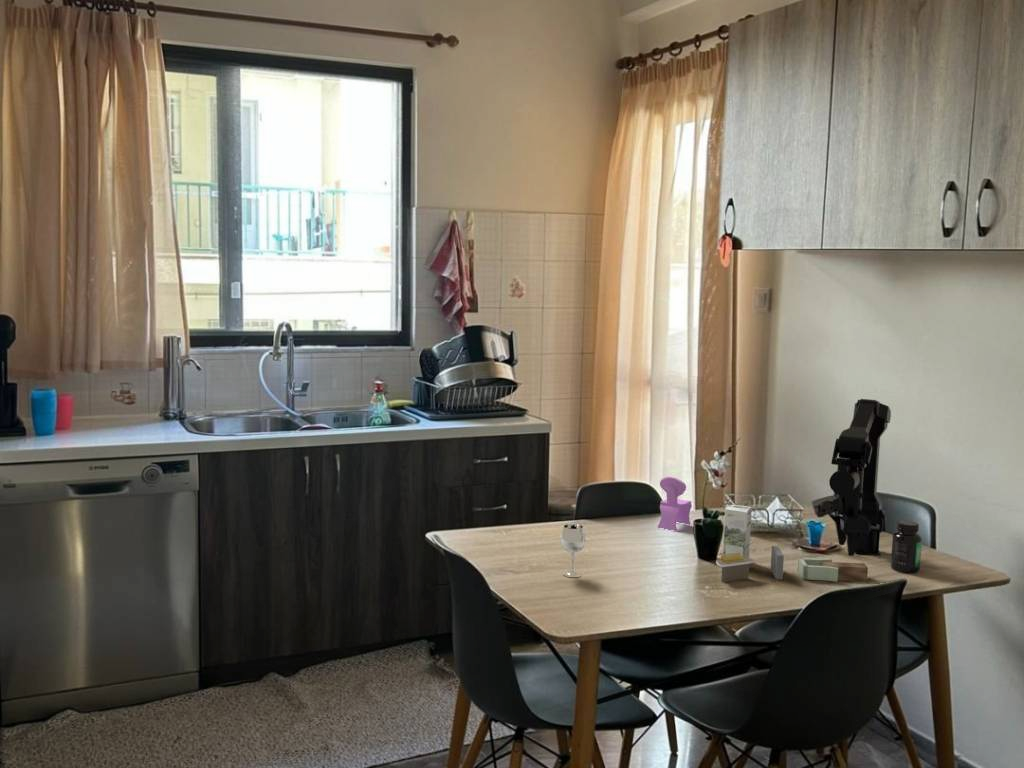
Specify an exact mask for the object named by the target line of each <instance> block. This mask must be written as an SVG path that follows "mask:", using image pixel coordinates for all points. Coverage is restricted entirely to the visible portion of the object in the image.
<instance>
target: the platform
mask: <svg viewBox="0 0 1024 768" xmlns="http://www.w3.org/2000/svg"><path fill="white" fill-rule="evenodd" d="M731 554H732V555H731ZM739 554H740V552H738V553H737V555H736V553H730V557H729V554H723V553H722V554H721V557H720V559H716V560H715V561H716V562H715V563H716V565H717V566H718V567H720V568H721V581H720V582H721V583H726V582H732V581H739V580H740V581H741V580H747V579H749V577H750V575H749V574H750V572H749V571H750V564H755V559H752V558H750V557H749V558H744V556H745V554H742V555H739ZM724 555H725V556H724ZM742 556H743V557H742ZM727 557H728V558H727Z"/></svg>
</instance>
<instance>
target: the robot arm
mask: <svg viewBox="0 0 1024 768" xmlns="http://www.w3.org/2000/svg"><path fill="white" fill-rule="evenodd" d="M891 411H892V410H891V408H890V406H889V405H886V404H883V403H881V402H880V401H877V399H867V398H860V399H857V402H855V403H854V409H853V418H852V421H851V422H850V426H849V427H848V428H847V429H844V430H842V431H841V432H840V434H839V436H838V438H836V439H835V443H834V448H833V453H832V457H831V461H830V462H831V465H837V469H836V471H835V472H834V473H832V475H831V476H830V478H829V487H830V490H832V491H833V495H832V494H831V495H827V496H824V497H821V498H817V499H814V500H812V501H811V505H812V509H813V512H814V515H816V516H817V518H823V517H826V516H827V515H828V517H829V518H831V519H832V520H833V522H834V525H835V530H836V536H837V540H838V545H839V546H844V545H845V543H846V547H847V548H846V549H847V555H848V556H849V557H853V556H855V554H856V555H857V554H858V555H881V551H880V550H879V549H880V535H881V533H885V532H887V517H886V516H887V515H886V514H885V511H884V509H883V501H882V499H881V498H880V496H879V494H878V492H877V487H878V473H879V463H880V462H879V459H880V448H881V447H880V446H881V443H880V442H881V437H882V436H883V434H884V433H885V432H886V430H887V429H888V425H889V424H890V423H891V417H892V412H891Z"/></svg>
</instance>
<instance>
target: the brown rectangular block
mask: <svg viewBox="0 0 1024 768" xmlns="http://www.w3.org/2000/svg"><path fill="white" fill-rule="evenodd" d="M822 566H829V567H836V568H838V580H839V581H840V580H841V581H868V575H869V574H868V569H869V568H868V566H867V564H865V563H863V562H840V561H838V562H835V561H832V562H822Z"/></svg>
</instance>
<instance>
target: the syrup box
mask: <svg viewBox="0 0 1024 768" xmlns="http://www.w3.org/2000/svg"><path fill="white" fill-rule="evenodd" d="M752 508H753V507H752V506H746V505H739V504H738V505H737V504H728V505H727V506H726V507H725V510H724V522H723V523H724V524H723V526H724V527H723V546H722V555H723V554H729V557H730V553H736V555H737V553H738V552H740V554H739V555H742V554H745V556H744V558H750V546H751V544H750V542H751V525H752V512H753V511H752ZM731 555H732V554H731ZM724 556H725V555H724ZM742 557H743V556H742ZM727 558H728V557H727Z"/></svg>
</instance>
